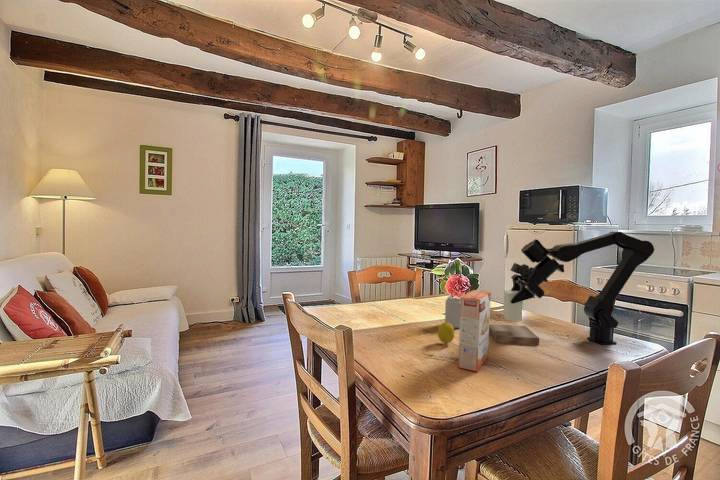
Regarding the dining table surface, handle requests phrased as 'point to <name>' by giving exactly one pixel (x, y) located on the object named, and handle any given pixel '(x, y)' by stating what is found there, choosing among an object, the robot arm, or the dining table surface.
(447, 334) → the lemon
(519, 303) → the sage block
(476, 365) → the cracker box
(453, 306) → the can
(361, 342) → the dining table surface
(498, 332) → the brown flat square slab
